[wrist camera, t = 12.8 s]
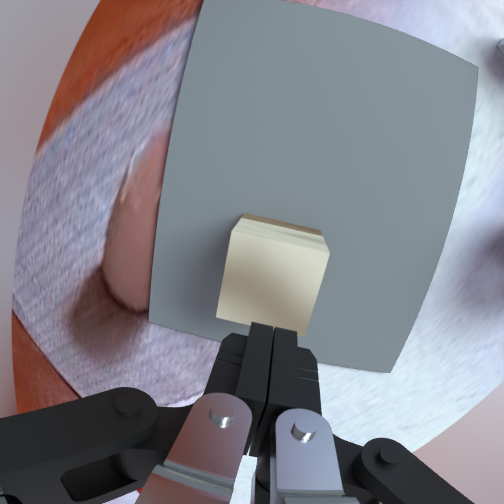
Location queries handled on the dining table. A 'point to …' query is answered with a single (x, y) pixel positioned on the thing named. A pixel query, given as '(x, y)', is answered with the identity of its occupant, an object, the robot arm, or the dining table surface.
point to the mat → (313, 168)
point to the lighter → (501, 46)
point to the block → (272, 273)
